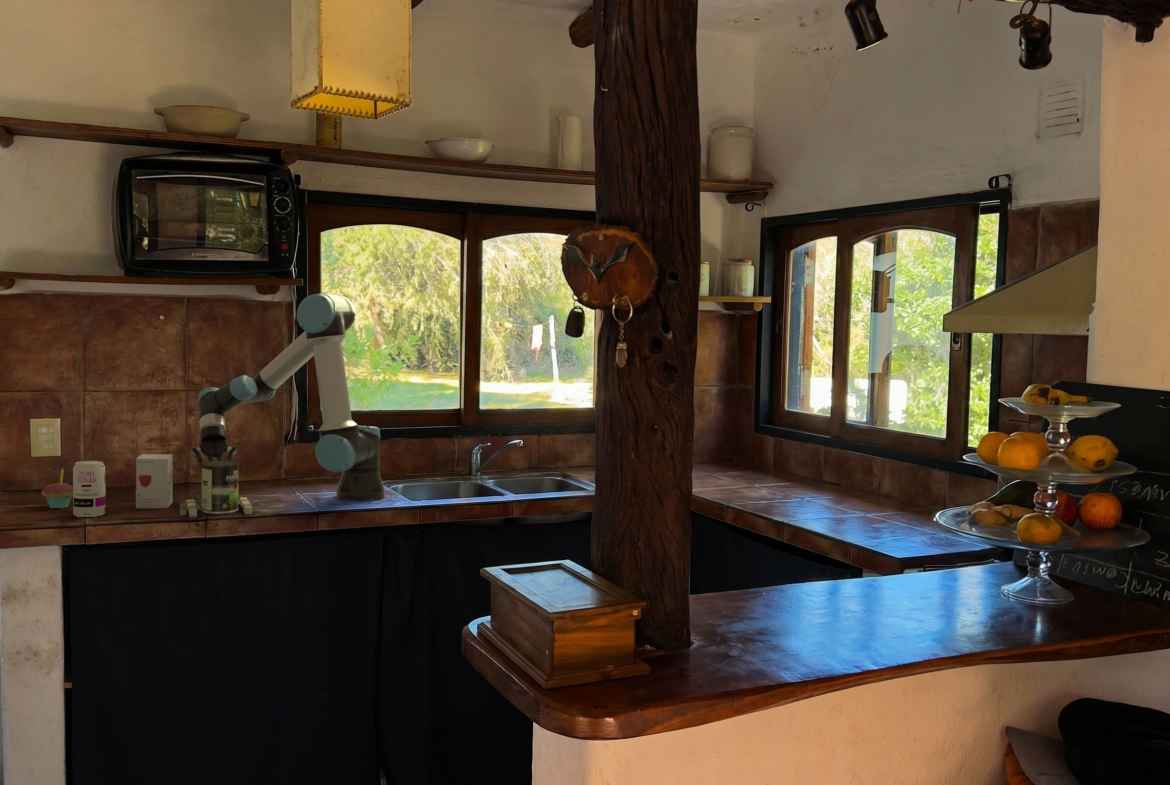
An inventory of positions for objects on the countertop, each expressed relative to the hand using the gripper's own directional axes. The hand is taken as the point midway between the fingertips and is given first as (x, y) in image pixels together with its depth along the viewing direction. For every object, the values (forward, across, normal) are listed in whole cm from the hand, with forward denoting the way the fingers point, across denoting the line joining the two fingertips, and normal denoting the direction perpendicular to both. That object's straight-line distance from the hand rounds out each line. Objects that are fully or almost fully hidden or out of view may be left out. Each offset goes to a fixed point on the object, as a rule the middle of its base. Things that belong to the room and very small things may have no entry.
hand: (216, 494), depth 303 cm
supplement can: (+5, +34, -1) cm, 34 cm away
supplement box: (-2, +17, -8) cm, 19 cm away
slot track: (+6, 0, 0) cm, 6 cm away
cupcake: (-5, +42, -11) cm, 44 cm away
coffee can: (+6, -1, +1) cm, 6 cm away
